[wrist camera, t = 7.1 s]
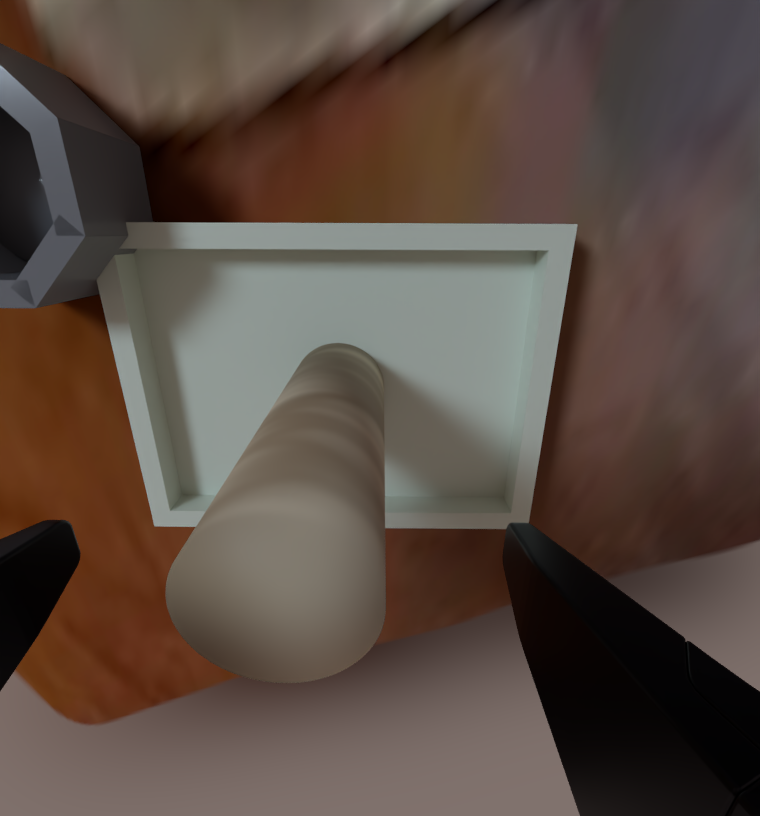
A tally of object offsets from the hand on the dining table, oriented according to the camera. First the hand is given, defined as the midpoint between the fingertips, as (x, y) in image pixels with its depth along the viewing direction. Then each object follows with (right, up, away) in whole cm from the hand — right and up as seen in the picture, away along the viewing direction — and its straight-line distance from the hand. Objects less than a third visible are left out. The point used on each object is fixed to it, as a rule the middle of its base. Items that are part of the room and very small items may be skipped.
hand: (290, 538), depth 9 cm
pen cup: (-10, +10, +6) cm, 16 cm away
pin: (0, +4, +8) cm, 9 cm away
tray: (0, +4, +9) cm, 10 cm away
